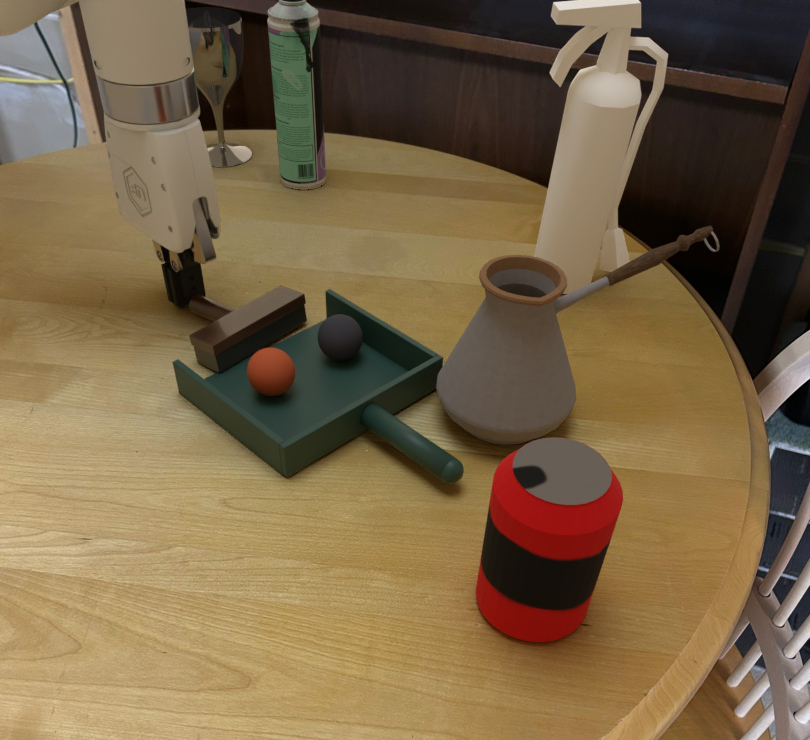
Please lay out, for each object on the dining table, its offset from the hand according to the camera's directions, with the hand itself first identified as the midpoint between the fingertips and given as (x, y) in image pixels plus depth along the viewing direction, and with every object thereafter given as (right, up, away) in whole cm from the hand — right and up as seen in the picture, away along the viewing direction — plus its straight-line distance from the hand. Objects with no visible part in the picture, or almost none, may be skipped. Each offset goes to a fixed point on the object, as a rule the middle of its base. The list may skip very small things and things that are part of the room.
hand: (187, 299), depth 78 cm
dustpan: (+16, -13, -10) cm, 23 cm away
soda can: (+30, -27, -23) cm, 46 cm away
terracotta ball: (+10, -9, -10) cm, 17 cm away
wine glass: (-2, +25, +24) cm, 35 cm away
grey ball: (+15, -5, -6) cm, 17 cm away
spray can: (+9, +20, +20) cm, 29 cm away
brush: (+5, -4, -2) cm, 7 cm away
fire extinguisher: (+38, +4, +6) cm, 39 cm away
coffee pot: (+34, -12, -8) cm, 37 cm away
